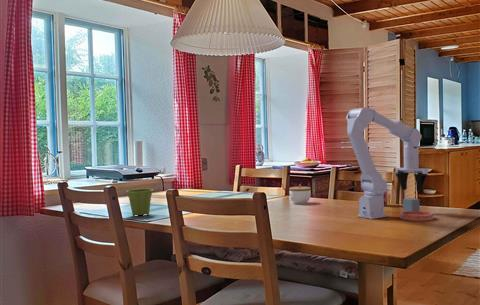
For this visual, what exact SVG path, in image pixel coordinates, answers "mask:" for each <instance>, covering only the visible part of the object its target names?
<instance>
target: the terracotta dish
mask: <svg viewBox="0 0 480 305" xmlns="http://www.w3.org/2000/svg"><path fill="white" fill-rule="evenodd" d="M399 218H400V220H403V221H410V222H429V221H433V220H434V212H430V211H423V210H420V211H401V212H399Z"/></svg>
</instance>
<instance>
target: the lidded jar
mask: <svg viewBox="0 0 480 305" xmlns="http://www.w3.org/2000/svg"><path fill="white" fill-rule="evenodd" d="M311 189H312V187H311V186H302V185H301V183H300V184H298V186H292V187H289V188H288V190H289V197H290V198H289V199H291V200H290V201H292V202H293V203H294V204H295V205H305V204H307V203H308V202H309V201H310V198H311V194H312V192H311Z"/></svg>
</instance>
